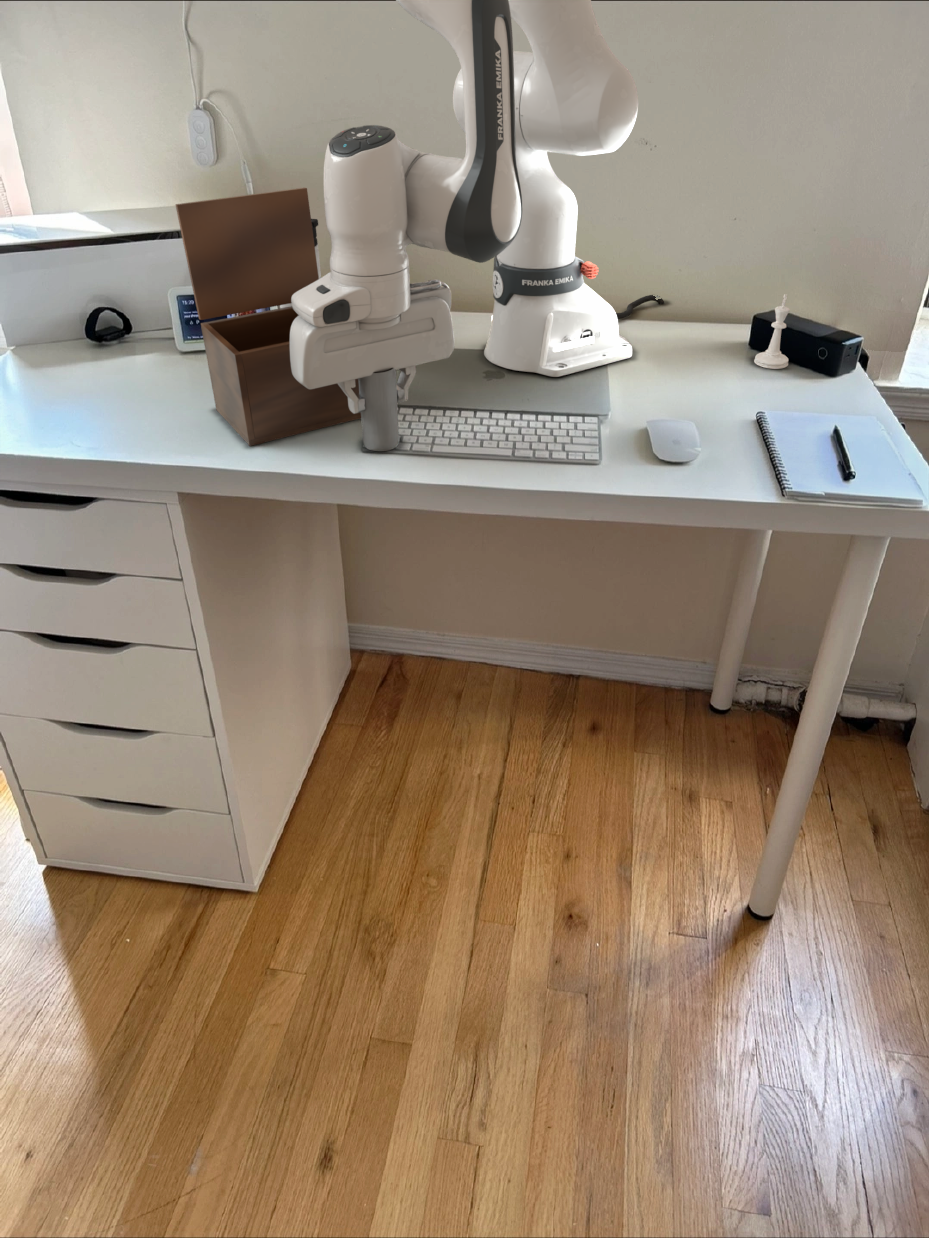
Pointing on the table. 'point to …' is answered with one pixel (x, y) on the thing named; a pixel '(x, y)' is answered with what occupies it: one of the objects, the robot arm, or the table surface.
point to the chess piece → (775, 342)
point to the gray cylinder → (380, 410)
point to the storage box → (266, 379)
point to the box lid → (248, 250)
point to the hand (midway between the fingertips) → (378, 405)
